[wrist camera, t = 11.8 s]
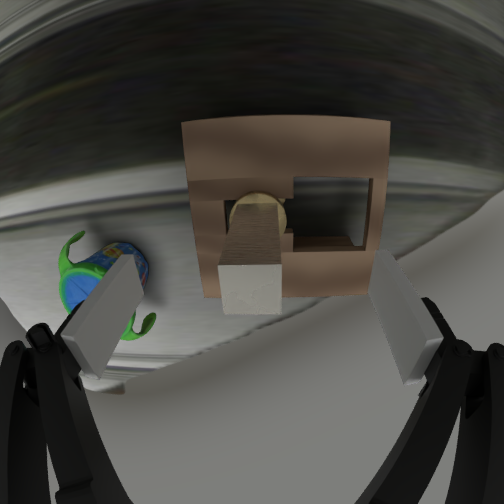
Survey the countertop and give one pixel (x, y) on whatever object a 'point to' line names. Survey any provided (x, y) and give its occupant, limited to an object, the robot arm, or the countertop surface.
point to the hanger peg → (253, 255)
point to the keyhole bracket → (286, 190)
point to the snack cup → (98, 278)
